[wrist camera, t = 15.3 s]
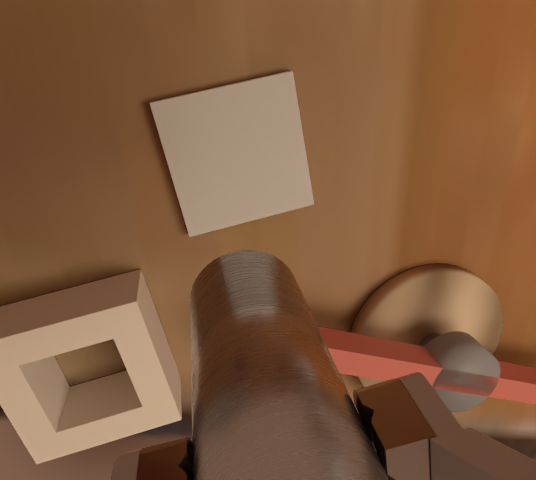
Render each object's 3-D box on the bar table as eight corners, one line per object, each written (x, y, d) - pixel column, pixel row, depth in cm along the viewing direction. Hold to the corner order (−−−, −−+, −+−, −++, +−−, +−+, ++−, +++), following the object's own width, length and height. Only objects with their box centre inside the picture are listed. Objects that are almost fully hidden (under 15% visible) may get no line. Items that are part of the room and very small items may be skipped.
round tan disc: (492, 245, 32) (522, 263, 29) (488, 369, 37) (514, 394, 34) (339, 289, 31) (356, 312, 28) (357, 411, 36) (372, 441, 33)
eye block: (140, 269, 27) (136, 301, 24) (180, 377, 31) (181, 419, 28) (-7, 308, 26) (-35, 348, 23) (52, 415, 30) (36, 464, 27)
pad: (290, 70, 25) (292, 70, 24) (311, 201, 28) (314, 204, 27) (150, 102, 24) (149, 103, 23) (189, 233, 27) (189, 237, 27)
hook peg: (261, 229, 14) (373, 498, 6) (316, 306, 15) (465, 607, 7) (167, 290, 14) (141, 630, 6) (229, 360, 15) (278, 706, 7)
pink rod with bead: (272, 290, 26) (282, 313, 24) (603, 360, 35) (634, 382, 32) (246, 358, 28) (253, 386, 25) (569, 409, 36) (596, 433, 34)
